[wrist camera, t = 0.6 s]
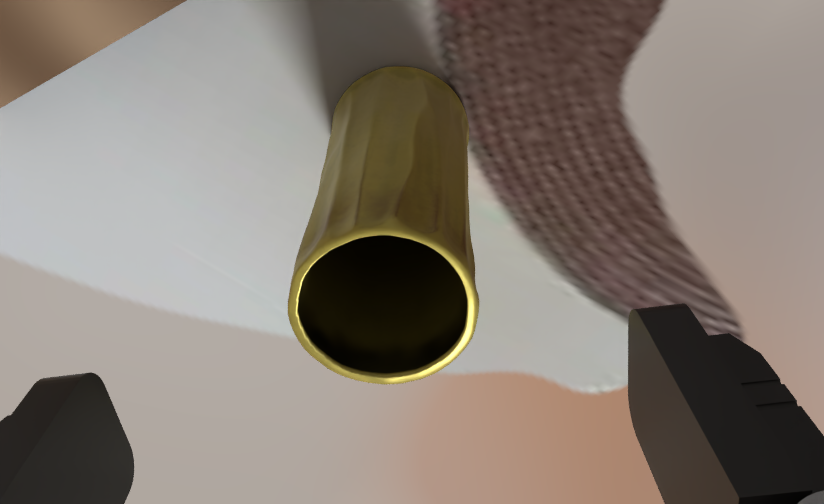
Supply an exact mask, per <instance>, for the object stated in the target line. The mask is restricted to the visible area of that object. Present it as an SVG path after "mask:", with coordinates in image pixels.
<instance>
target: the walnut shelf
mask: <svg viewBox="0 0 824 504" xmlns="http://www.w3.org/2000/svg"><path fill="white" fill-rule="evenodd" d="M185 1H186V0H0V108H1V107H3V106H5V105H6V104H8V103H10V102H12V101H13V100H15V99H17V98H18V97H20V96H22V95H24V94H25V93H27V92H29V91H31V90H32V89H34V88H36V87H37V86H39V85H41V84H43V83H44V82H46V81H48V80H50V79H51V78H53V77H55V76H57V75H58V74H60V73H62V72H63V71H65V70H67V69H69V68H70V67H72V66H74V65H76V64H77V63H79V62H81V61H82V60H84V59H86V58H88V57H89V56H91V55H93V54H95V53H96V52H98V51H100V50H101V49H103V48H105V47H107V46H108V45H110V44H112V43H114V42H115V41H117V40H119V39H121V38H122V37H124V36H126V35H127V34H129V33H131V32H133V31H134V30H136V29H138V28H140V27H141V26H143V25H145V24H146V23H148V22H150V21H152V20H153V19H155V18H157V17H159V16H160V15H162V14H164V13H165V12H167V11H169V10H171V9H172V8H174V7H176V6H178V5H179V4H181V3H183V2H185Z"/></svg>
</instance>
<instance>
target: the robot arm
mask: <svg viewBox="0 0 824 504" xmlns="http://www.w3.org/2000/svg"><path fill="white" fill-rule="evenodd" d="M628 399H629V408H630V413H631V418H632V423H633V427H634V430H635V433H636V436H637V439H638V441H639V443H640V446H641V448H642V451H643V453H644V455H645V457H646V460H647V462H648V465H649V467H650V470H651V472H652V474H653V477H654V479H655V481H656V484H657V486H658V489H659V491H660V493H661V496H662V498H663V500H664V502H665V504H824V436H823V434H822V433H821V432H820V430H818V428H817V427H816V425H815V424H814V423H813V421H812V420H811V419H810V417H809V416H808V415H807V414H806V412H805V411H804V410H803V408H802V407H801V406H797V400H796V399H795V398H794V396H793V395H792V394H791V393H790V391H789V390H788V389H787V388H786V386H785V385H784V384H781V382H780V379H779V377H778V376H777V374H776V373H775V372H774V370H773V369H772V368H771V367H770V365H769V364H768V362H767V361H766V360H765V359H764V357H763V356H762V355H761V353H759V352H758V351H756V350H754V349H753V348H751V347H750V346H748V345H747V344H745V343H743V342H742V341H740V340H739V339H737V338H735V337H734V336H732V335H731V334H729V333H728V334H719V335H710V336H708V335H707V333H706V332H705V330H704V329H703V327H702V326H701V324H700V323H699V321H698V320H697V318H696V317H695V315H694V314H693V312H692V311H691V310H690V308H689V307H688V306H687V305H686V304H684V303H683V304H674V305H666V306H658V307H649V308H641V309H633V310H631V312H630V315H629V325H628ZM133 475H134V459H133V453H132V449H131V446H130V444H129V441H128V439H127V437H126V434H125V432H124V430H123V427H122V425H121V423H120V420H119V418H118V416H117V413H116V411H115V409H114V406H113V404H112V401H111V399H110V397H109V394H108V392H107V390H106V388H105V385H104V383H103V381H102V380H101V378H100V377H99V376H98V375H96V374H94V373H85V374H75V375H67V376H59V377H50V378H43V379H40V380H39V381H37V382H36V383H35V384H34V385H33V387H32V388H31V390H30V391H29V392H28V393H27V395H26V396H25V397H24V399H23V400H22V401H21V403H20V404H19V405H18V407H17V408H16V409H15V411H14V412H13V414H12V415H10V416H7V417H5V418H4V419H3V420H2V421H0V504H124V503H125V500H126V498H127V496H128V494H129V491H130V489H131V486H132V482H133V477H134V476H133Z"/></svg>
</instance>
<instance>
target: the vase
mask: <svg viewBox="0 0 824 504" xmlns="http://www.w3.org/2000/svg"><path fill="white" fill-rule="evenodd" d="M468 140H469V125H468V120H467V115H466V113H465V110H464V107H463V105H462V103H461V101H460V99H459V98H458V96H457V95H456V93H455V92H454V91H453V90H452V89H451V88H450V87H449V86H448V85H447V84H446V83H445V82H443V81H442V80H441V79H439V78H438V77H436V76H435V75H433V74H431V73H429V72H426V71H424V70H421V69H417V68H412V67H404V66H395V67H384V68H381V69H377V70H375V71H373V72H371V73H369V74H367V75H365V76H363V77H362V78H360V79H358V80H357V81H355V82H354V83H353V84H352V85H351V86H350V87H349V88H348V89H347V90H346V91H345V93H344V94H343V95H342V97H341V99H340V100H339V102H338V104H337V106H336V108H335V111H334V115H333V121H332V132H331V136H330V139H329V144H328V149H327V154H326V159H325V163H324V167H323V170H322V174H321V180H320V186H319V191H318V195H317V198H316V201H315V204H314V207H313V210H312V213H311V217H310V219H309V222H308V225H307V228H306V230H305V233H304V236H303V239H302V242H301V245H300V248H299V252H298V255H297V258H296V262H295V267H294V272H293V276H292V281H291V287H290V293H289V299H288V316H289V320H290V324H291V326H292V329H293V331H294V333H295V335H296V337H297V339H298V341H299V342H300V343H301V345H302V346H303V347H304V349H305V350H306V351H307V352H308V353H309V354H310V355H311V356H312V357H314V358H315V359H316V360H317V361H319V362H320V363H322V364H323V365H324V366H325V367H327V368H328V369H330V370H332V371H334V372H335V373H337V374H340V375H342V376H345V377H348V378H351V379H354V380H358V381H363V382H368V383H377V384H399V383H406V382H410V381H414V380H418V379H422V378H425V377H427V376H430V375H432V374H434V373H436V372H438V371H440V370H441V369H443V368H444V367H446V366H447V365H449V364H450V363H451V362H452V361H453V360H454V359H456V358H457V357H458V356H459V355H460V353H461V352H462V351H463V350H464V349H465V348H466V346H467V345H468V344H469V342H470V340H471V339H472V337H473V334H474V331H475V327H476V323H477V318H478V312H479V297H478V293H477V290H476V285H475V262H474V254H473V249H472V243H471V236H470V225H469V200H468V157H467V146H468Z"/></svg>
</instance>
